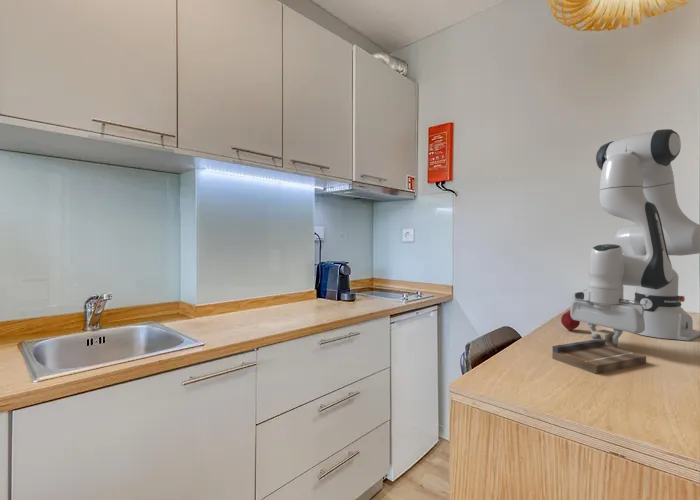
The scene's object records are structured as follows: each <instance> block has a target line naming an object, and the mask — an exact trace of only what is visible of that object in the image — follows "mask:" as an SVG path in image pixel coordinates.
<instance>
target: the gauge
mask: <svg viewBox="0 0 700 500" xmlns="http://www.w3.org/2000/svg"><path fill="white" fill-rule="evenodd" d="M614 334H615V332H613V330H612V331H611V330H609V329H599V330H597V331H592V332H591V335H592V336H590V337H591V338H590V340H595V339H603V340H605V345H607V346H611V347H614V348H619V347H618V346H619V345H618V343H619V342H618V343H616V344H614V343H611V342H609V340H610V339H609V337H612V336H614Z"/></svg>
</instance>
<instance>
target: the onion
mask: <svg viewBox="0 0 700 500" xmlns="http://www.w3.org/2000/svg"><path fill="white" fill-rule="evenodd" d="M570 310H571V308H569V309H568V311H566V312H564V313H563V314H562V316H561V319H560V321H561V325H562V326H563V327H565V329H566V330H568V331H570V332H571V331H573V330H575V329H576V328H578V327H579V326H580V323H581V321H577V320H573V319H572V318H571V315H570Z"/></svg>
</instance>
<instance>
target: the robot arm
mask: <svg viewBox="0 0 700 500" xmlns="http://www.w3.org/2000/svg"><path fill="white" fill-rule="evenodd" d="M681 147H682V144H681V137H680V135H679V133H678V132H676V131H675V130H673V129H670V128H669V129H667V128H666V129H663V128H662V129H657V130H655V131H650V132H649V131H648V132H642V133H637V134H632V135H631V136H627V137H624V138H620V139H617V140H615V141H613V140H612V141H610V142H609V141H608V142H607V143H604V144H603V145H601V146H600V147H599V149H598V150H597V151H596V152H597V153H596V155H595V163H596V165H597V167H598V169H599V170H601V171H600V172H601V173H600V179H599V194H598V195H599V199H598V200H599V203H600V207H601V208H602V209H603V210H604V212H606V213H608V215H611V216H613V217H617V218H621V219H624V220H627V221H629V222H630V221H631V222H633V223H635V224H633V225H628V226H623V227H620V228H619V229H618V230H617V232H615V235H614V240H613V241H614V242H613V243H614V244H611V243H610V244H609V243H607V244H599V245H595V246H593V247H592V248H591V251H590V255H589V259H588V260H589V261H588V274H589V275H588V276H589V282H588V285H587V288H588V289H584V290H579V291H574V292H572V300H571V304H570V309H571V310H570V315H571V318H572V319H573V320H577V321H580V323H586V324H587V327H588V329H589V331H590V332H591V333H592V331H598V330H597V328H596V327H597V326H598V327H599V326H600V327H604V328H609V329H612V331H613V332H615V334H614V336H612V337H609V339H610V340H609V342H611V343H614V344H616V343H619V338H620V337H621V336H622V334H623V333H624V332H626V333H632V334H636V335H637V334H638V335H641V336H646V337H649V338H651V337H652V338H657V339H664V340H665V339H666V340H667V339H670V340H678V341H688V342H689V341H692V340H694V339H696V338H698V337H700V331H699V330H696V329H693V328H694V327H693V322H694V321H693V317H692V316H691V315H690V314H689V313H688V312H686V311H685V309H684V308H682V302H683V303H684V302H685V300H686V297H685V295H679V274H678V272H677V271H676V270H675V269H674V268H673V265H672V262H671V260H670V256H676V257H677V256H681V257H682V256H691V255H698V254H700V224H698V223H697V222H695V221H693V220H692V219H690V218H689V217H688V216H687V215H686V214H685V213H684V212H683V210H682V209H681V207H680V205H679V203H678V198H677V193H676V185H675V178H674V171H673V168H672V164H671V163H672V162H673V161H674V160H676V158H677V157H678V155H679V154H680V152H681ZM624 286H630V287H631V286H634V287H636V288H635V290H636V292H634V295H633V297H634V300H629V299H626V298H625V299H624ZM591 336H592V334H591ZM591 336H590V337H591Z"/></svg>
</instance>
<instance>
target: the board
mask: <svg viewBox="0 0 700 500" xmlns="http://www.w3.org/2000/svg"><path fill="white" fill-rule="evenodd" d="M551 353H552V355H551V356H552V357H551V358H552V359H553V360H555V361H558V362H562V363H564V364H567V365H569V366H572V367H576V368H578V369H581V370H584V371H587V372H590V373H593V374H595V375H597V374H603V373H606V372H607V373H608V372H611V371H616V370H621V369H626V368H632V367H635V366H641V365H646V364H647V356H646V355H643V354H640V353H636V352H633V351H628V350H625V349H621V348H619V347H615V348H614V347H611V346H607V345H605V340H603V339H595V340H591V339H590V340H584V341H577V342H571V343H563V344H558V345H557V344H556V345H552V351H551Z"/></svg>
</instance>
